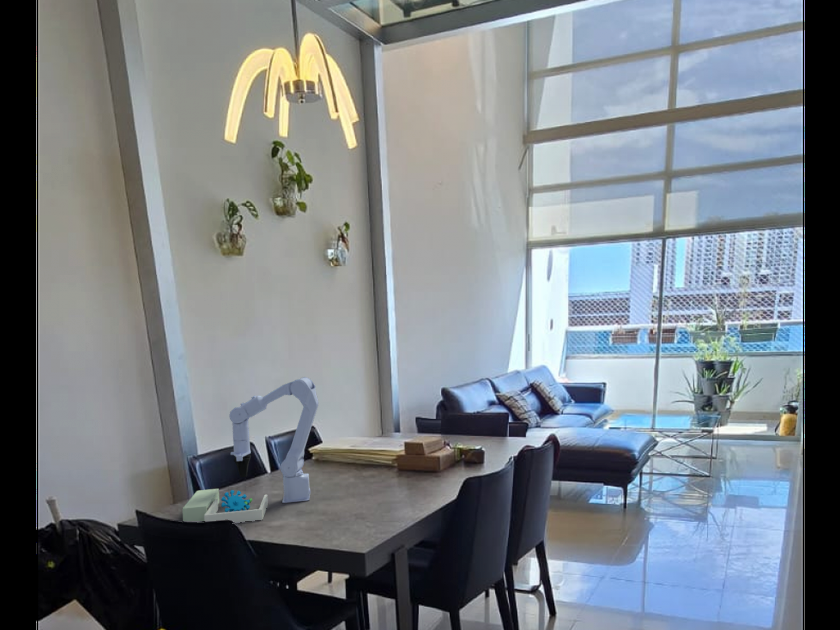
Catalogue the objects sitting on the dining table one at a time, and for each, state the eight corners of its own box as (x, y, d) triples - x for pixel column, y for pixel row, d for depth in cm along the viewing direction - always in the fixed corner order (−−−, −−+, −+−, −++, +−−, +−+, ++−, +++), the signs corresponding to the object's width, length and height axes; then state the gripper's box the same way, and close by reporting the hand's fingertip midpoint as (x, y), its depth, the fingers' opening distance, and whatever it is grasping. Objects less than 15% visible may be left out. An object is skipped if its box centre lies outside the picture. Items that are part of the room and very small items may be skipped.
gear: (226, 515, 194) (219, 490, 200) (219, 526, 196) (212, 500, 202) (257, 512, 201) (249, 487, 207) (250, 522, 204) (243, 497, 210)
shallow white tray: (268, 504, 210) (267, 494, 210) (262, 520, 192) (261, 509, 192) (215, 509, 207) (214, 499, 207) (204, 526, 189) (204, 515, 189)
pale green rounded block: (220, 502, 216) (219, 488, 216) (208, 521, 194) (207, 506, 194) (198, 504, 215) (197, 490, 215) (183, 523, 193) (182, 508, 193)
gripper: (233, 437, 222) (235, 473, 222) (226, 444, 208) (228, 482, 208) (252, 435, 223) (254, 471, 223) (247, 442, 209) (249, 480, 209)
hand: (243, 476), depth 215 cm, fingers closed
